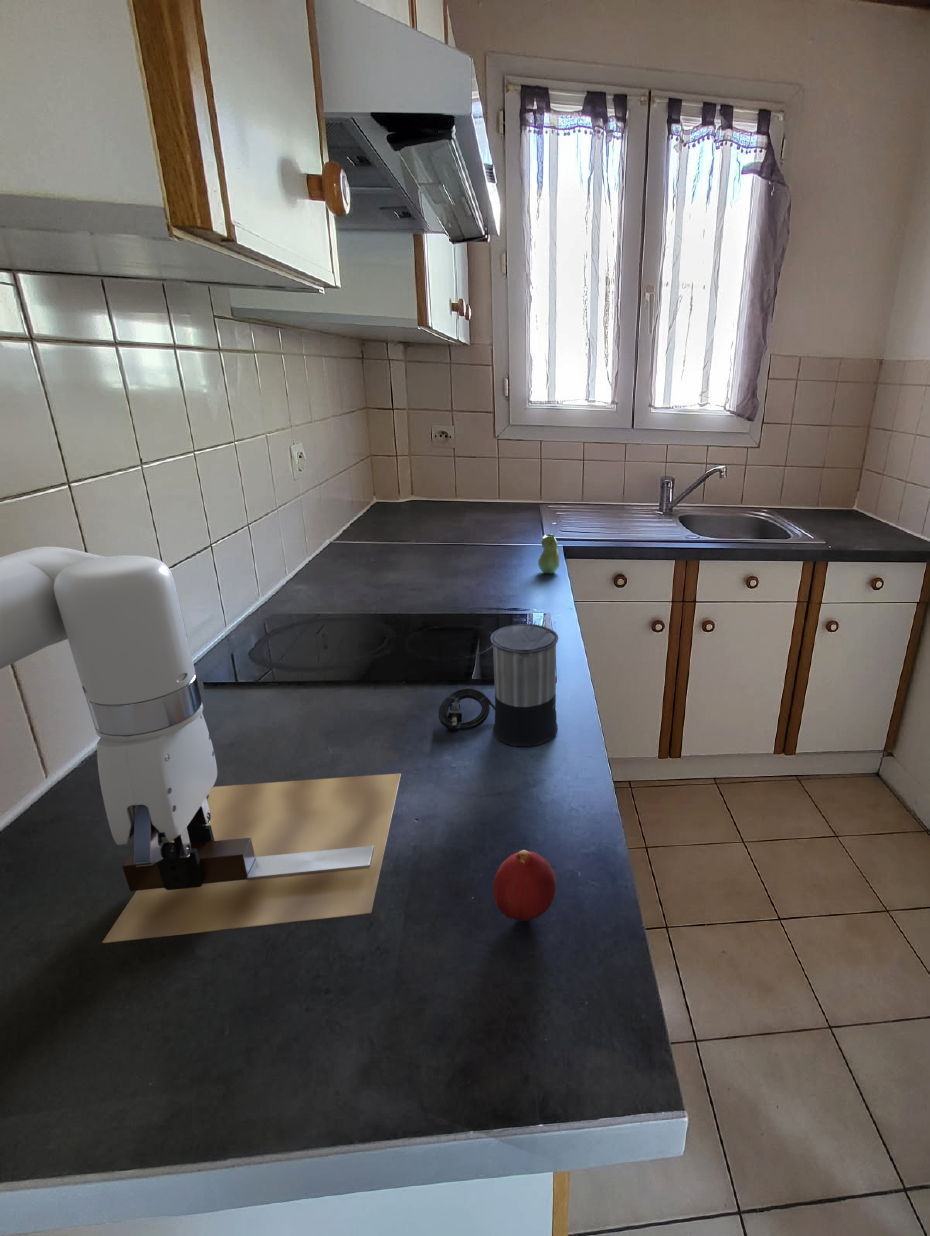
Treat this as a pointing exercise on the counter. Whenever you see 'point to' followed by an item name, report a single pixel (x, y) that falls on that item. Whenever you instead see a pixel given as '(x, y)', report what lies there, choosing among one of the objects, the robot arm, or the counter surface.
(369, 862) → the knife
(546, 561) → the pear
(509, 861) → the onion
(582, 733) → the counter surface
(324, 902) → the chopping board
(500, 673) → the milk frother
